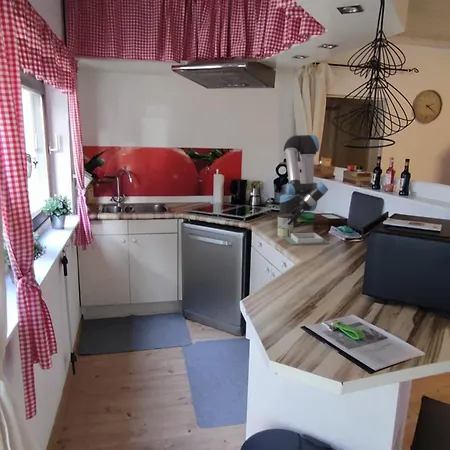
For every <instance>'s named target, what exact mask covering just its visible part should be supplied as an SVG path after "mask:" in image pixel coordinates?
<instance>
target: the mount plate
mask: <svg viewBox="0 0 450 450" xmlns="http://www.w3.org/2000/svg"><path fill="white" fill-rule="evenodd" d="M284 239H285V240H286V241H287V242H288V243H289V244H291V246H311V245H312V246H313V245H314V246H315V245H318V246H319V245H329V242H328V241H327V240H326V239H324V238H323V237H321V236H320V235H319V234H317V233H316V232H297V233H296V232H295V233H294V232H293V234H291V237H285V238H284Z"/></svg>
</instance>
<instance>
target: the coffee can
mask: <svg viewBox="0 0 450 450" xmlns="http://www.w3.org/2000/svg"><path fill="white" fill-rule="evenodd" d="M292 217H293V214H280V213H278V214H277V221H278V226H277V236H278V237H279V238H284V239H285V237H291V234H293V233H294V227H293V223H292V224H291V225H290V226H289V227H288V228H287V229H285V228H284V227H283V225H284V224H286V223H287V222H288V221H289V220H290V218H292Z"/></svg>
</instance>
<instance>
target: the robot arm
mask: <svg viewBox="0 0 450 450" xmlns="http://www.w3.org/2000/svg"><path fill="white" fill-rule="evenodd" d="M319 150H320V143H319V138H318V136H317V135H315V134H313V135H312V134H307V135H306V134H304V135H303V134H302V135H301V134H300V135H299V134H298V135H297V134H296V135H292V136H290V137H288V139H287V140H286V141H285V143H284V146H283V154H284V156H285V159H286V160H285V162H286V168H287V177H288V183H287V184H286V189H285V190H286V193H284V194H282V195H279V196H280V197H279V214H293V217H292V218H290V220H289V221H288V222H287V223H286V224H284V225H283V227H284V228H285V229H287V228H288V227H289V226H290V225H291V224H292V223H293V228H296V227H298V226H299V222H298V219H299V218H300V217H301V215H302V214H303V213H304V212H313V211H315V210H317V206H318V202H319V200H320V199H321V198H322V197H323V196H325V195H326V193H327V192H328V191H329V188H328V187H327V186H326V184H324V183H323V182H321V181H320V182H319V183H317V182H315V181H314V173H315V170H314V169H315V164H314V163H315V156H316V155H317V152H319ZM298 153H299V156H300V157H301V168H300V169H301V170H300V169H299V162H298V156H297V155H298ZM300 171H301V174H300ZM300 175H301V176H300ZM276 225H277V227H278V220H277V222H276Z"/></svg>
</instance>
